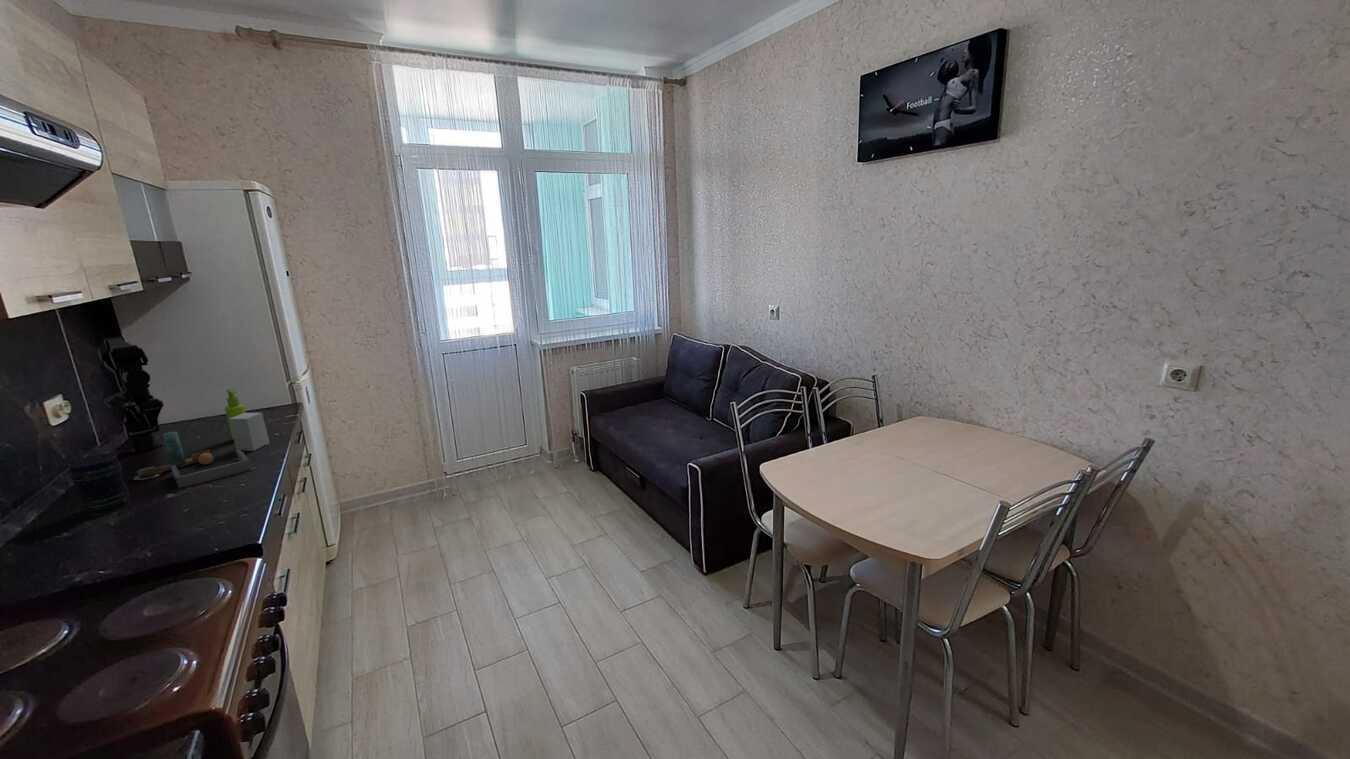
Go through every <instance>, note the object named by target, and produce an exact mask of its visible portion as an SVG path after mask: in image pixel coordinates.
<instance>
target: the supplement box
mask: <svg viewBox="0 0 1350 759" xmlns="http://www.w3.org/2000/svg"><path fill="white" fill-rule="evenodd" d="M228 420H229V423H230V427H231V431H232V435H233V439H234V441H233V442H234V446H235V449H236V450H243V451H242V452H254V450H255V451H257V450H259V449H258V448H260V447H262V446H264V445H266V446H268V445H270V444H269V443H270V440H269V435H268V431H267V427H266V423H265V419H264V414H263V412H246V413H243V414H240V415H238V416H235V417H232V418H230V419H227V421H228ZM229 423H228V424H229ZM230 427H229V428H230ZM231 431H230V432H231ZM232 435H231V436H232ZM233 439H232V440H233ZM267 444H268V445H267ZM264 447H265V446H264ZM262 448H263V447H262ZM256 449H257V450H256ZM260 449H261V448H260ZM236 450H235V451H236ZM245 450H246V451H245Z"/></svg>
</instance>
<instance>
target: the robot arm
mask: <svg viewBox="0 0 1350 759" xmlns="http://www.w3.org/2000/svg"><path fill="white" fill-rule="evenodd" d="M97 351H98V353H97V354H98V357H99V360H100V362H101V363H103V364H104V366H105V368H106V369H108V370H109V371H110V372H112V373H114V376H115V379H116V382H117V386H118V388H119V392H117V393H114V394H112V395H110V396H107V397H106V398H104V399H103V400H102V402H103V403H104V405H105V406H107V408H109V409H110V410H117V409H119V408H120V407H122V408H124V409H126V412H125V415H124V417H123V420H124V421H123V422H122V425H123V432H124V435H125V436H126V438H127V439H131V444H132V448H133V449H132V450H130V453H131V452H133V453H138V452H137V451H148V452H151V451H153V450H152V449H154V450H155V448H156V447H158V446H160V444H161V445H162V446H163V443H158V440H157V437H156V434H155V433H157V432H160V431H161V430H160V429H161V428H160V425H159V417H160V413H161V411H162V409H163V407H164V406H165V405H164V402H163V400H161V399H159V398H156V397H154V396H153V394H151V393H150V390H149V388H150V387H151V385H150V383H149V382H150V381H151V376H150V374H149V373H148V372H147V371H146V370H144V368H143V366H148V365H149V364H148V363H149V359H148V356H147V355H146V352H145V350H143V349H142V348H141V347H139V346H138V345H137V344H130V343H129V342H127V341H126V340H125V337H123V336H115V337H113V336H112V337H106V338H104V339H103V343H102V344H100V346H98V347H97ZM160 447H161V446H160ZM158 448H159V447H158ZM156 449H157V448H156ZM150 450H151V451H150Z"/></svg>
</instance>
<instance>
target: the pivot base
mask: <svg viewBox="0 0 1350 759" xmlns="http://www.w3.org/2000/svg"><path fill="white" fill-rule="evenodd" d="M162 473H163V472H160V473H157V474H156V475H153V476H150V477H146V478H139V475H136V476H134V477H133V481H135V480H142V481H147V480H146V479H148V480H151V479H150V478H152V479H155V478H157V476H158V477H160V476H161V474H162ZM163 474H164V473H163ZM163 474H162V475H163ZM154 477H155V478H154Z"/></svg>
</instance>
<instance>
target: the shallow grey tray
mask: <svg viewBox="0 0 1350 759" xmlns="http://www.w3.org/2000/svg"><path fill="white" fill-rule="evenodd" d="M235 452H236V456H237V459H238V461H236V462H232V463H227V464H224V465H220V466H216V467H212V468H208V469H204V470H199V471H196V472H191V473H188V474H183V475H181V474H180V471H179V468H177V467H176V465H173V466H171V470H170V471H171V472H172V473H171V474H172V477H173V478H174V481H175V482H176V485H177V487H178V489H179V488H180V489H182V488H181V487H184V488H187V487H186V486H188V487H190V486H189V485H192V486H194V484H195V485H198V484H202V483H205V482H206V483H207V482H211V481H213V480H214V481H215V480H217V479H221V478H225V477H228V476H229V477H230V476H232V475H236V474H241V473H244V472H248V471H252V470H253V468H252V464H251V460H250V459H249V458H248V457H247V456H246V454H245V452H244V451H241V450H235Z"/></svg>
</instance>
